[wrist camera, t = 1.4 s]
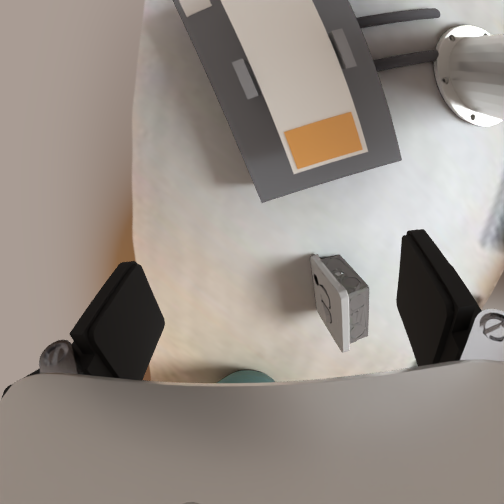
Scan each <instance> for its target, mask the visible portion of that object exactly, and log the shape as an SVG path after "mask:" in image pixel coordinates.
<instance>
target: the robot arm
mask: <svg viewBox="0 0 504 504" xmlns="http://www.w3.org/2000/svg"><path fill="white" fill-rule="evenodd" d="M449 38H450V39H449ZM436 50H437V51H438V53H439V56H438V58H437V59H436V60H435V61H434V72H435V77H436V81H437V85H438V87H439V90H440V92H441V94H442V96H443V98H444V100H445V102H446V103H447V104H448V106H449V107H450V108H451V110H452V111H453V112H454V113H455V114H456V115H457V116H459V117H460V118H462V119H463V120H465V121H466V122H469V123H471V124H474V125H477V126H485V127H488V126H492V125H495V124H497V123H499V122H501V121H502V120H503V121H504V34H496V35H491V34H490V33H488V32H487V31H485V30H483V29H481V28H479V27H476V26H473V25H461V26H456V27H453V28H451V29H449V30H448V31H446V32H445V33H444V34H443V35H442V37H441V38H440V40H439V42H438V44H437V46H436ZM442 79H443V81H442ZM396 300H397V308H398V311H399V313H400V316H401V319H402V321H403V324H404V327H405V329H406V332H407V335H408V338H409V341H410V343H411V346H412V349H413V352H414V355H415V358H416V361H417V364H418V366H417V367H411V368H405V369H399V370H392V371H385V372H378V373H370V374H363V375H355V376H346V377H337V378H327V379H316V380H303V381H287V382H267V383H180V382H159V381H144V380H143V377H144V374H145V372H146V370H147V367H148V365H149V362H150V360H151V357H152V355H153V353H154V350H155V348H156V345H157V343H158V341H159V338H160V336H161V334H162V331H163V329H164V325H165V321H164V317H163V315H162V313H161V311H160V309H159V306H158V304H157V302H156V299H155V297H154V295H153V292H152V290H151V288H150V285H149V283H148V281H147V278H146V276H145V273H144V271H143V269H142V267H141V265H139V264H137V263H136V262H135V261H131V262H122V263H120V264H119V265H118V267H117V268H116V269H115V271H114V272H113V273H112V275H111V276H110V277H109V279H108V280H107V281H106V283H105V284H104V285H103V287H102V288H101V290H100V291H99V292H98V294H97V295H96V296H95V298H94V300H93V301H92V302H91V304H90V305H89V306H88V308H87V309H86V311H85V312H84V313H83V315H82V316H81V318H80V319H79V321H78V322H77V324H76V325H75V327H74V328H73V330H72V331H71V332H70V335H71V337H72V339H73V340H74V342H73V343H72V344H71V343H70V342H69V341H68V340H58V341H56V342H54V343H52V344H51V345H49V346H48V347H47V348H46V349H45V350H44V351H43V353H42V354H41V356H40V361H39V366H40V369H38V370H37V371H35V372H33V373H31V374H30V375H28V376H26V377H24V378H22V379H20V380H18V381H17V382H15V383H14V384H12V385H10V386H8V387H7V388H6V389H5V390H4V393H3V396H2V399H1V401H0V504H504V312H503V311H501V310H496V309H487V310H484V311H481V309H480V307H479V306H478V304H477V303H476V301H475V299H474V298H473V296H472V295H471V293H470V292H469V290H468V289H467V287H466V285H465V284H464V282H463V281H462V280H461V278H460V277H459V275H458V274H457V272H456V271H455V269H454V268H453V267H452V266H451V265H450V264H449V262H448V261H447V260H446V258H445V257H444V255H443V254H442V253H441V251H440V250H439V249H438V247H437V246H436V245H435V243H434V242H433V241H432V239H431V238H430V237H429V235H428V234H427V233H426V231H425V230H424V229H421V230H411V231H408V232H407V234H406V235H404V236H403V237H402V244H401V259H400V270H399V281H398V290H397V299H396Z"/></svg>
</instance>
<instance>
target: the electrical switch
mask: <svg viewBox="0 0 504 504" xmlns="http://www.w3.org/2000/svg"><path fill="white" fill-rule="evenodd" d="M310 261H311V269H312V276H313V284H314V292H315V300H316V308H317V311H318V313H319V315H320V317H321V319H322V320H323V322H324V324H325V325H326V327H327V329H328V330H329V332H330V333H331V335H332V337H333V338H334V340H335V342H336V343H337V345H338V347H339V348H340V350H341V352H346V351H350V343H353V342H356V341H357V340H358V339H361V338H363V337H366V336H368V318H369V287H368V285H367V284H366V283H365V282H364V281H363V280H362V278H361V277H360V276H359V275H358V274H357V273H356V272H355V271H354V270H353V269H352V268H351V266H350V265H349V264H348V263H347V262H346V261H345V260H344V259H343V258H342V257H341V256H340V255H336V256H333V257H328V258H324V259H321V258H320V257H319V256H318V254H316V255H313V256H311V257H310ZM341 272H342V273H344V274H342V275H341ZM366 287H367V288H366ZM363 288H364V289H363ZM365 327H366V328H365Z"/></svg>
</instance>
